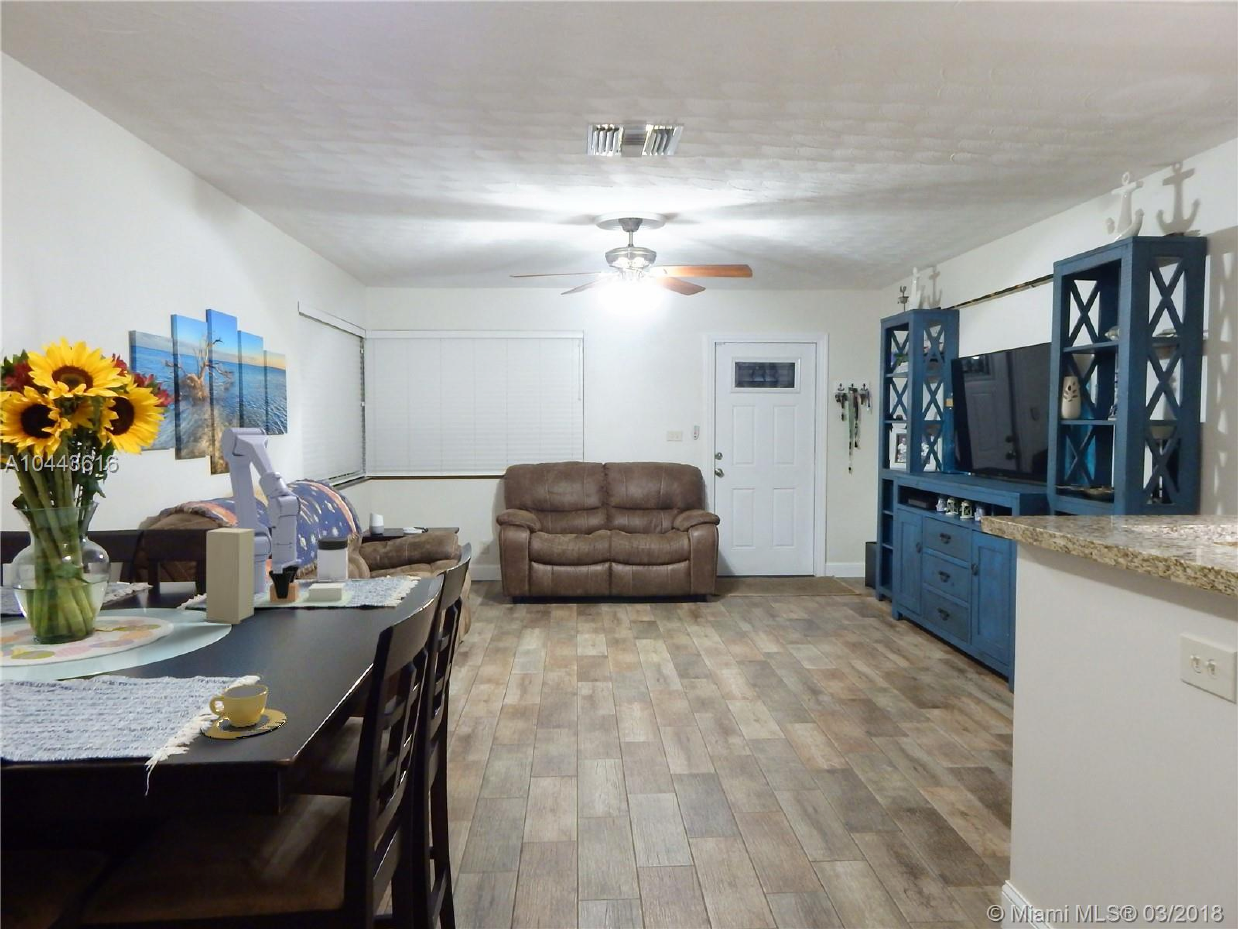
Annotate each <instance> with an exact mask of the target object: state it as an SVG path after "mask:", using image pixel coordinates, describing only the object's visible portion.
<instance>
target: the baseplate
mask: <svg viewBox="0 0 1238 929" xmlns="http://www.w3.org/2000/svg"><path fill="white" fill-rule="evenodd" d="M355 593H356V590H345V596H344V597H343V599H342V600H309V591H299V598H298V599H297V600H296V601H295V602H270V592H267V593H266V594H264V596H262V597H261V598H260V599H259V600H258V601H257V602H256V603H254V608H274V607H275V608H278V607H279V608H281V607H316V606H317V607H318V606H319V607H322V606H347V605H348V604H349V602H350V600H351V599H352V597H353V596H354V595H355Z"/></svg>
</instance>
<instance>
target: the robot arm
mask: <svg viewBox="0 0 1238 929" xmlns="http://www.w3.org/2000/svg"><path fill="white" fill-rule="evenodd" d="M268 439H269V438H268V434H267V432H266V431H265V429H264V428H263V427H262V426H260V427H259V426H258V427H229V426H228V427H226V428H224V430H223V431H222V433H221V436H220V446H221V452H222V457H223V460H224V461H225V462H227V465H228V470H229V471H228V472H229V478H230V483H231V484H230V485H231V490H232V491H231V492H232V497H233V504H234V508H235V509H234V510H235V516H236V522H237V525H236V526H235V527H234V528H239V529H254V594H258V593H264V592H265V591H267V573H266V572H267V560H269V557H271V560H270V563H271V566H272V569H271V570H268V575H269V577H270V579H271V580H272V584H273V583H274V586H275V590H276V594H277V598H278V599H286V598H287V596H288V591H289V584H290V583H295V579H296V575H297V574H298V571H299V569H300V565H299V564H301V563H302V559H300V558H299V559H297V517H299V516H300V515H301V512H302V503H301V502H302V501H301V500H300V496H298V495H297V494H295V493H294V492H293V491H290V490H289V487H288V485H287V483H286V481H285V479H284V478H283V476H282V473H280V472H278V471H275V469H274V465H273V464H272V460H271V458H270V456H269V453H268V450H267V447H268V441H269V440H268ZM251 463H252V465H253V467H254V468H255V470H256V471H257V473H258V474H259V476H260V477H259V480H258V485H259V487H260V489H261V490H262V493H263V495H264V497H265V499H266V501H267V504H266V505H267V506H266V512H267V513H266V514H267V516H268V521H269V525H270V526H271V534H270V531H269V530H270V529H269V527H267V526H266V525H265V524H262V523H261V522H259V517H258V515H259V514H258V509H257V503H256V497H255V491H254V484H253V477H252V473H251V472H252V471H251Z"/></svg>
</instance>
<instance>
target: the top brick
mask: <svg viewBox="0 0 1238 929" xmlns="http://www.w3.org/2000/svg"><path fill="white" fill-rule="evenodd" d="M299 588H300V584H299V582H298V581H297V582H294V583H290V584H289V591H288V596H287V598H286V599H278V598H277V594H276V590H275V586H274V583H273V582H272V584H271V585H269V593H270V602H295V601H296V600H297V599H298V598H299V592H300V591H299V590H300V589H299Z"/></svg>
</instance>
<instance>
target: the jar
mask: <svg viewBox="0 0 1238 929" xmlns="http://www.w3.org/2000/svg"><path fill="white" fill-rule="evenodd" d="M348 544H349V542H348V538H347V537H345V536H344V537H343V536H342V537H341V536H332V537H331V536H330V537H328V536H327V537H321V538H318V539H317V550H316V551H317V552H316V555H317V558H316V559H317V562H316V564H317V566H316V568H317V571H316V573H317V575H316V576H317V577H316V578H317V579H316V580H346V581H347V580H348V579H349V550H348V549H349V547H348ZM346 581H317V583H345V582H346Z"/></svg>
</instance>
